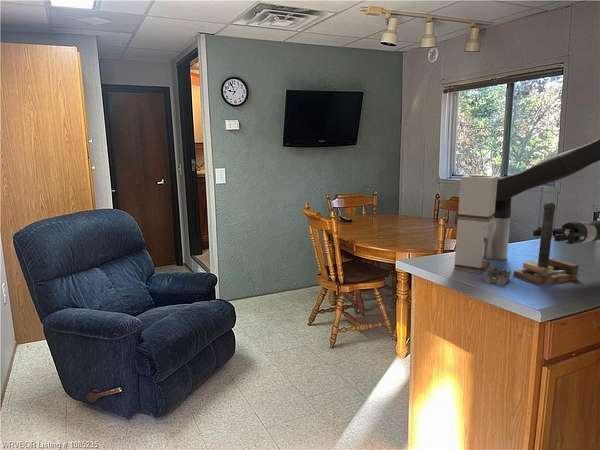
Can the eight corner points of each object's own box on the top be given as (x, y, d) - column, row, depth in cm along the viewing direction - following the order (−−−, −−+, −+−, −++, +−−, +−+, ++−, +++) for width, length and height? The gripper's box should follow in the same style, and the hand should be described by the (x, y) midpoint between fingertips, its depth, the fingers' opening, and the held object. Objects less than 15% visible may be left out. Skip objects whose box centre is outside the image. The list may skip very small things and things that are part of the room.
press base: (539, 284, 152) (540, 270, 151) (513, 275, 162) (514, 262, 161) (578, 279, 158) (580, 265, 157) (551, 270, 168) (552, 257, 167)
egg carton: (503, 286, 151) (504, 275, 150) (480, 282, 156) (481, 270, 155) (512, 279, 159) (513, 268, 158) (490, 275, 164) (491, 264, 163)
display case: (483, 273, 164) (492, 177, 158) (454, 269, 170) (460, 176, 163) (489, 266, 173) (497, 175, 167) (461, 262, 179) (468, 174, 173)
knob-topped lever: (541, 274, 153) (549, 203, 149) (522, 268, 161) (529, 200, 156) (552, 272, 155) (560, 202, 151) (533, 266, 163) (540, 199, 158)
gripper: (561, 218, 165) (528, 221, 159) (599, 225, 152) (564, 228, 146) (559, 238, 166) (526, 242, 161) (596, 247, 153) (561, 251, 148)
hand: (544, 235), depth 154 cm, fingers open, 8 cm apart
